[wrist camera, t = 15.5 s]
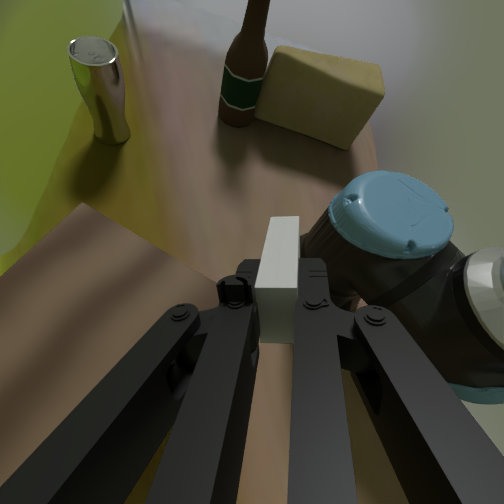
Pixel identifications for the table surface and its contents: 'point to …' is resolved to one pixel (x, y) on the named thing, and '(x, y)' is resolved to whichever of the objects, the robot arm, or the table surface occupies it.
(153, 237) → the table surface
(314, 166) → the table surface
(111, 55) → the beer glass
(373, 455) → the table surface
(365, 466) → the table surface
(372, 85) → the cheese
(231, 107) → the beer bottle
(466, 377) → the robot arm
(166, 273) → the stool
